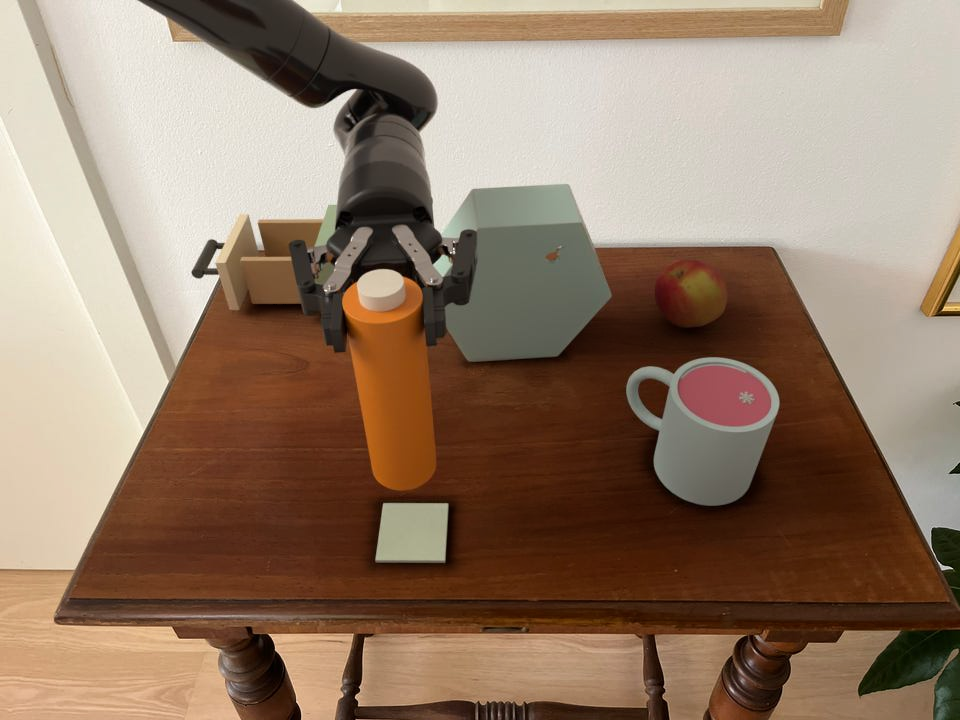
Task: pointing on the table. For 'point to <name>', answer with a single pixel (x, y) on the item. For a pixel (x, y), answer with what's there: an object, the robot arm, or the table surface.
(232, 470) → the table surface
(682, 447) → the mug
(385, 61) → the robot arm
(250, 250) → the drawer
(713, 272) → the apple
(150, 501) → the table surface
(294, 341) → the table surface
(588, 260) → the pale green hexagonal block
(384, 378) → the juice bottle
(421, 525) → the coaster
